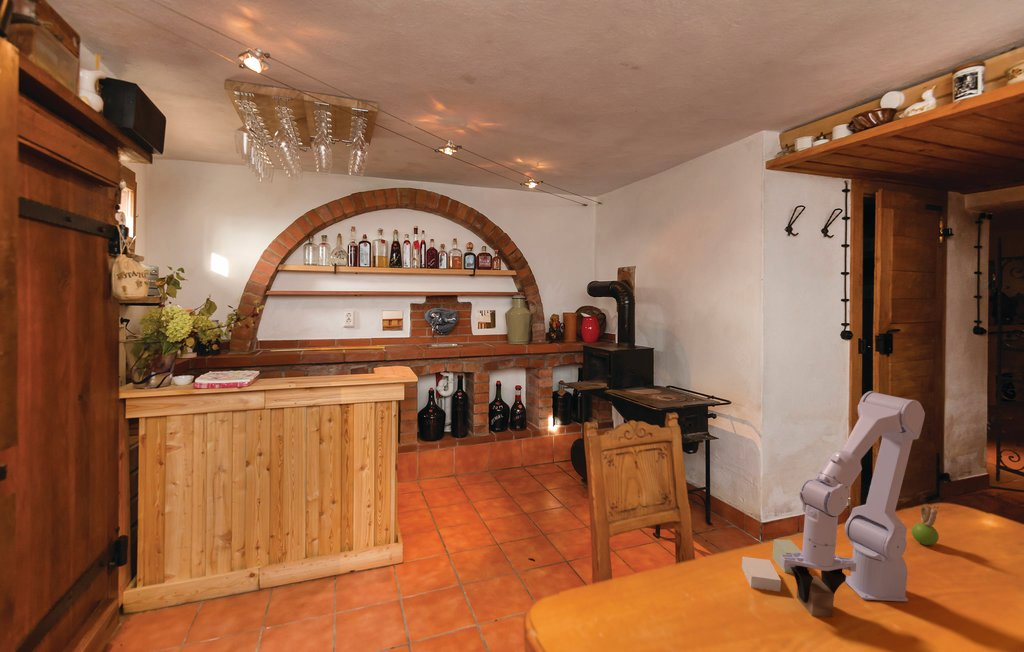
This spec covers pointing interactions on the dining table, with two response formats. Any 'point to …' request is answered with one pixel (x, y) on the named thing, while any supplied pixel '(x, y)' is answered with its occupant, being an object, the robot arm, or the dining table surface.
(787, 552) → the sage brick
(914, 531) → the green egg with ears
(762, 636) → the dining table surface
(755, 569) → the pale grey brick
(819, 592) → the walnut brick
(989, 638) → the dining table surface
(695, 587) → the dining table surface
